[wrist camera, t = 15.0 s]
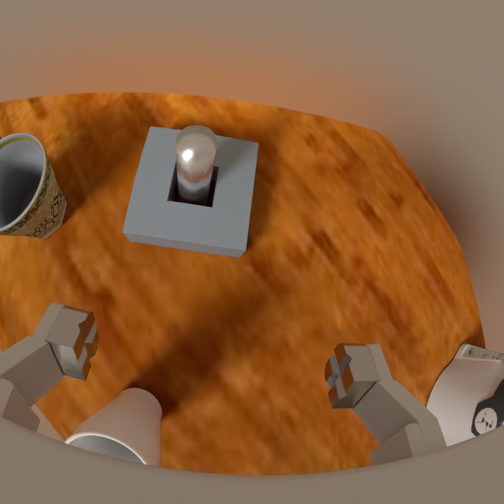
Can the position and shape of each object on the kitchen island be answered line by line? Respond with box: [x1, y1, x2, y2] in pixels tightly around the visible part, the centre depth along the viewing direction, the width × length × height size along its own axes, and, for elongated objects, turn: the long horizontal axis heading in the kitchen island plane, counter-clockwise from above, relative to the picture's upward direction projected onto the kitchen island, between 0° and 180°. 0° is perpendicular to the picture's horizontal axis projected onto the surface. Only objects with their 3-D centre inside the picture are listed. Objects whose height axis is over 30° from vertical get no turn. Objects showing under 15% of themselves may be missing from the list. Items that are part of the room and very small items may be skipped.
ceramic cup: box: [0, 133, 67, 239], centre depth 25 cm, size 13×10×10 cm
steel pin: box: [175, 125, 217, 206], centre depth 28 cm, size 3×3×12 cm
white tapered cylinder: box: [64, 388, 162, 467], centre depth 21 cm, size 7×7×15 cm
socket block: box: [123, 126, 259, 258], centre depth 32 cm, size 12×12×4 cm
